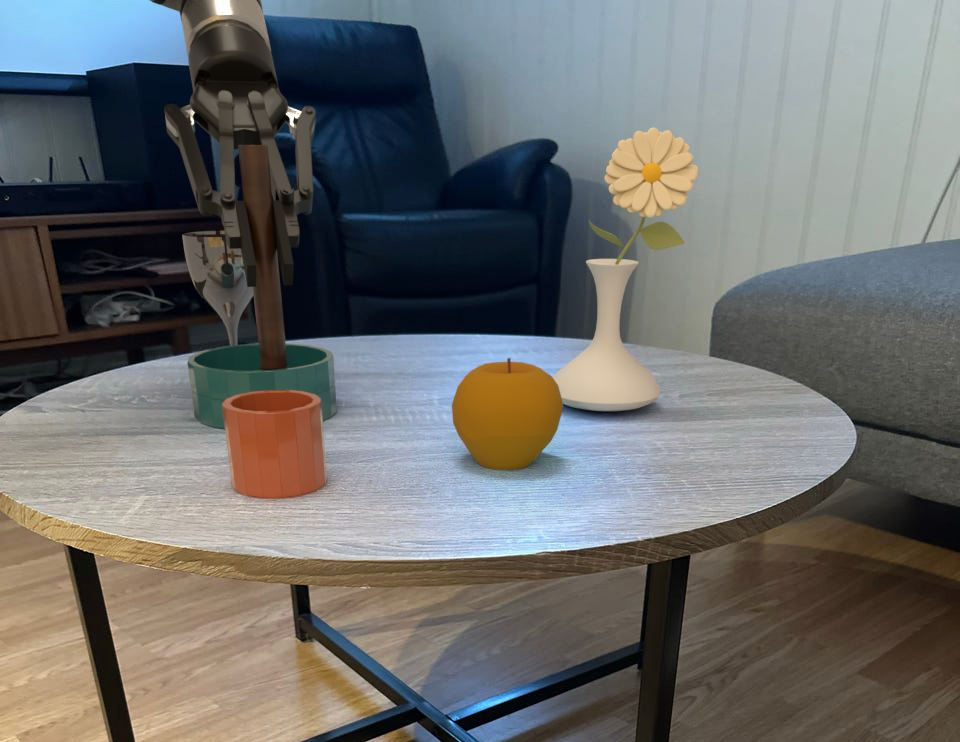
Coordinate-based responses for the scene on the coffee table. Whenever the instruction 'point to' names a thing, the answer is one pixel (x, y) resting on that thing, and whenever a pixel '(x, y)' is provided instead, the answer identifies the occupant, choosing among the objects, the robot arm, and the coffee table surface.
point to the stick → (264, 255)
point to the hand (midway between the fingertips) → (270, 275)
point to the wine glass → (218, 276)
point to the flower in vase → (628, 271)
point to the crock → (275, 443)
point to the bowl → (257, 377)
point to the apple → (506, 413)
